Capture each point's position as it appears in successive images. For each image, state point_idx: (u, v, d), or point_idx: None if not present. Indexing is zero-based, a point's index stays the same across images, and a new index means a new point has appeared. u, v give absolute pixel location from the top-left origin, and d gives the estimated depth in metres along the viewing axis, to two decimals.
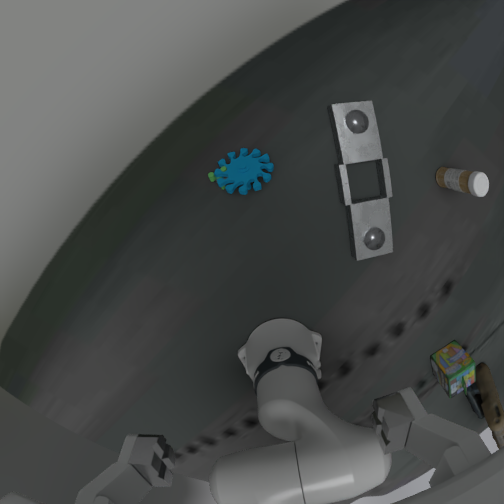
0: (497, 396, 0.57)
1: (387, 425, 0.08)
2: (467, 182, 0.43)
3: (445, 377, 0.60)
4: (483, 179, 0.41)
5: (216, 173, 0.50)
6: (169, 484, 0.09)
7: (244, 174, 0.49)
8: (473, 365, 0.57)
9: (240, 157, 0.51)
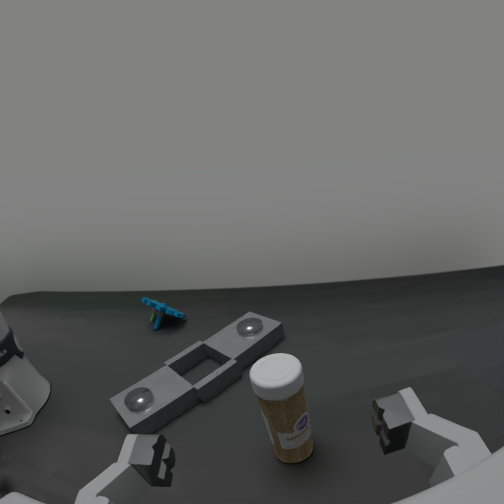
0: None
1: (387, 425, 0.08)
2: None
3: None
4: (286, 363, 0.25)
5: (156, 301, 0.66)
6: (169, 484, 0.09)
7: (158, 304, 0.62)
8: None
9: (174, 309, 0.64)
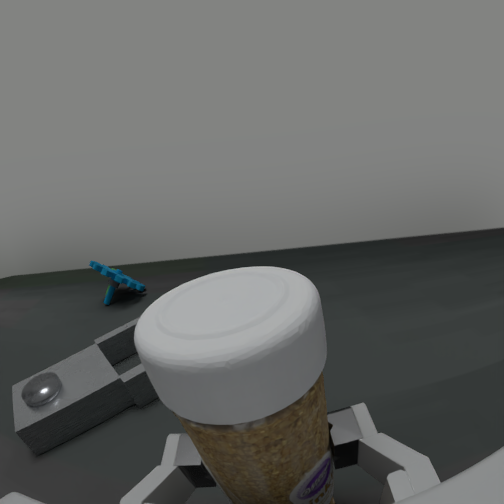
0: None
1: (333, 441, 0.08)
2: None
3: None
4: (264, 286, 0.07)
5: (114, 270, 0.49)
6: (215, 484, 0.08)
7: (110, 270, 0.44)
8: None
9: (132, 280, 0.47)
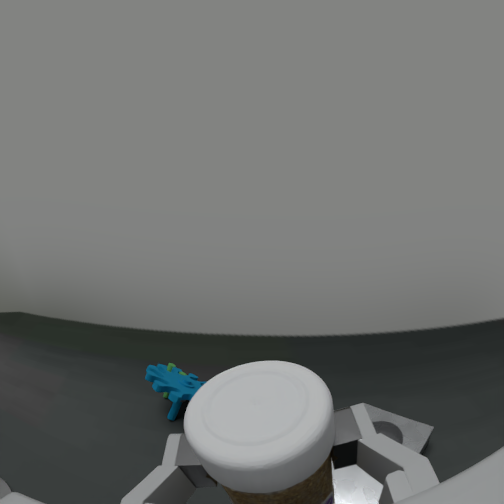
0: None
1: None
2: None
3: None
4: (289, 392, 0.08)
5: (174, 367, 0.37)
6: (215, 484, 0.08)
7: (175, 381, 0.32)
8: None
9: None
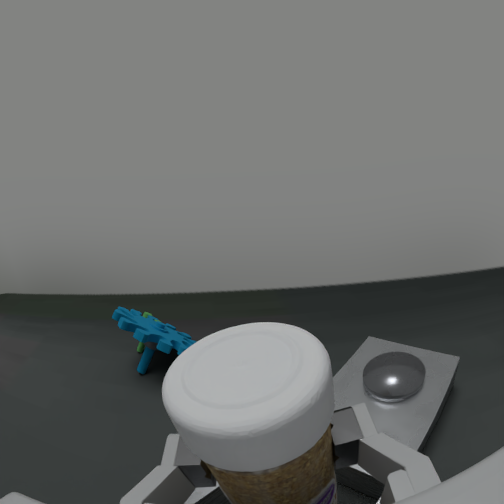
0: None
1: (333, 441, 0.08)
2: None
3: None
4: (280, 351, 0.08)
5: (149, 315, 0.34)
6: (215, 484, 0.08)
7: (146, 324, 0.29)
8: None
9: (180, 335, 0.31)
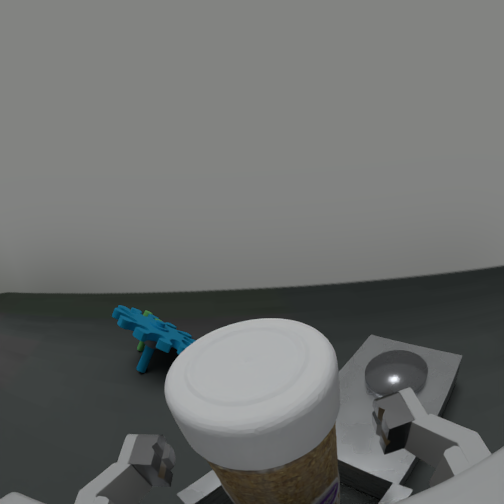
0: None
1: (387, 425, 0.08)
2: None
3: None
4: (285, 347, 0.07)
5: (150, 314, 0.33)
6: (169, 484, 0.09)
7: (146, 322, 0.29)
8: None
9: (180, 334, 0.31)
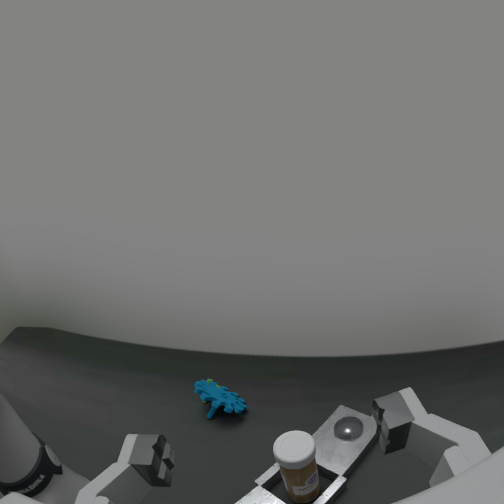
0: None
1: (387, 425, 0.08)
2: None
3: None
4: (303, 441, 0.27)
5: (211, 382, 0.53)
6: (169, 484, 0.09)
7: (214, 393, 0.48)
8: None
9: (233, 396, 0.51)
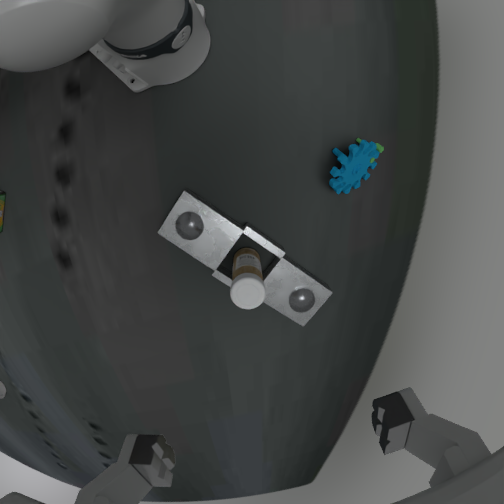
0: None
1: (387, 425, 0.08)
2: (259, 277, 0.40)
3: None
4: (251, 301, 0.39)
5: (377, 153, 0.42)
6: (169, 484, 0.09)
7: (355, 164, 0.42)
8: None
9: (359, 178, 0.45)
